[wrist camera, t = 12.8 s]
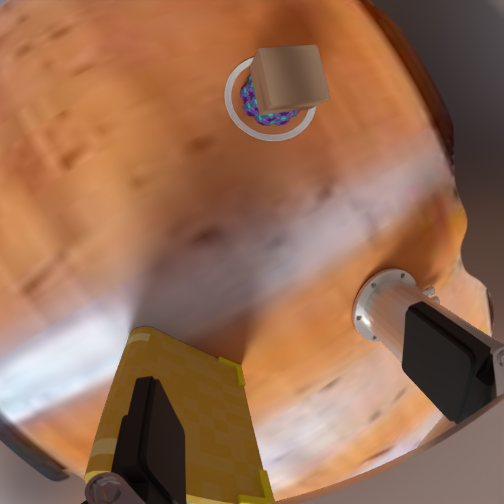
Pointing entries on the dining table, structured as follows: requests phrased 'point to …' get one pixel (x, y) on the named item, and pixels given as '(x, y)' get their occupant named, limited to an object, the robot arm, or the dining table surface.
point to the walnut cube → (288, 79)
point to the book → (190, 418)
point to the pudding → (252, 110)
